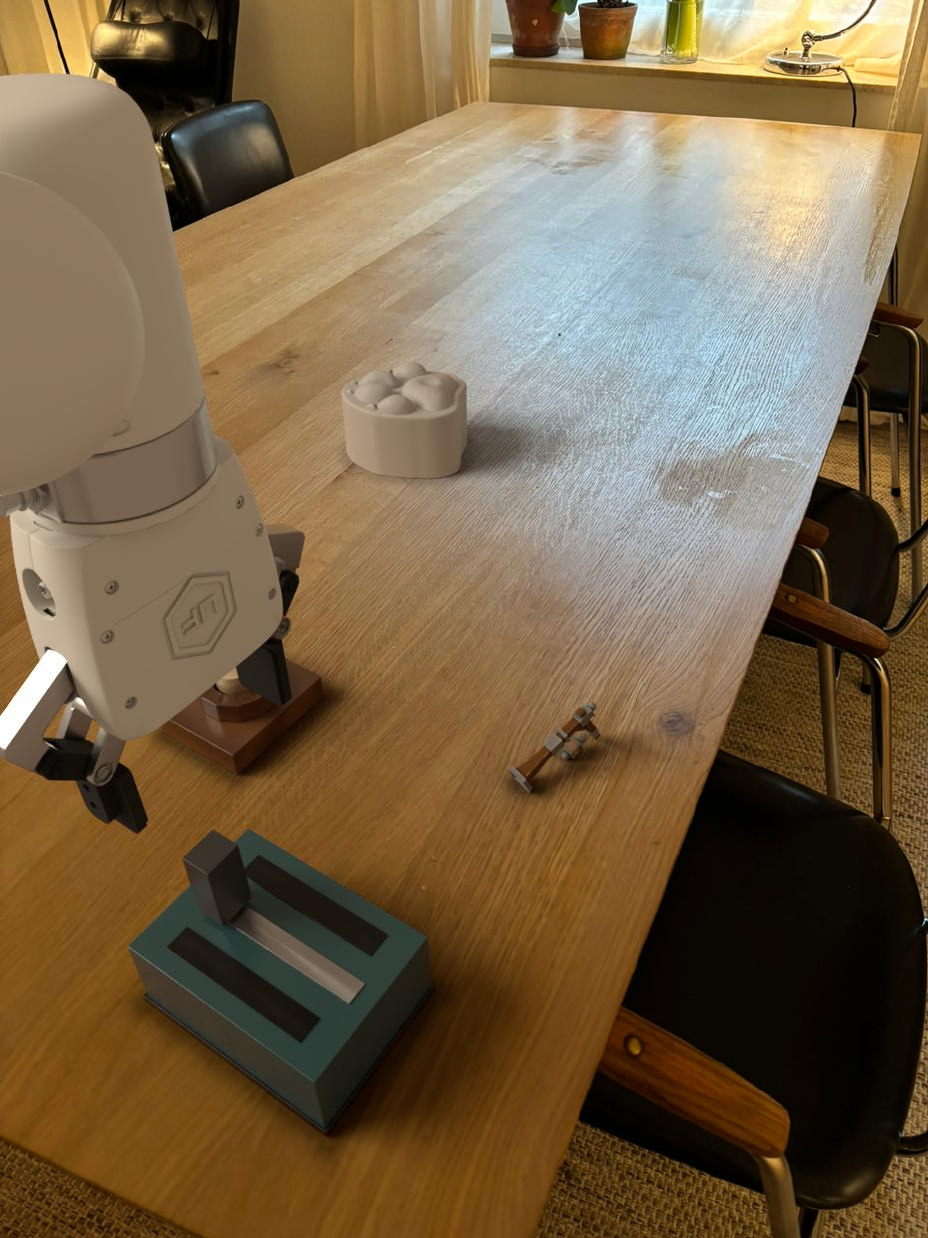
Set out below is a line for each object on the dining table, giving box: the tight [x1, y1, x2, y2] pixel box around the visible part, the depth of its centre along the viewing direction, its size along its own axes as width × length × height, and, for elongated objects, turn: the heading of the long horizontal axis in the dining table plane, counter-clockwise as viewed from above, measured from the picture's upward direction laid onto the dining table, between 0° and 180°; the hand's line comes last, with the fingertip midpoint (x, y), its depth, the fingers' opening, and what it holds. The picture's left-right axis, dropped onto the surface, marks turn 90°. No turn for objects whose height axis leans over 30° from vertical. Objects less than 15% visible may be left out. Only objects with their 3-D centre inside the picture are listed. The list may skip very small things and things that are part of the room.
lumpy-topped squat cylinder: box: [340, 361, 468, 480], centre depth 106 cm, size 10×13×9 cm
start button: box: [216, 667, 250, 695], centre depth 76 cm, size 3×3×2 cm
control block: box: [160, 658, 325, 776], centre depth 77 cm, size 10×8×4 cm
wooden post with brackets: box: [506, 701, 601, 793], centre depth 74 cm, size 2×8×4 cm, turn 127°
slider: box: [181, 828, 252, 927], centre depth 56 cm, size 2×2×5 cm
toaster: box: [127, 828, 437, 1138], centre depth 59 cm, size 10×14×6 cm
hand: (198, 750), depth 49 cm, fingers open, 9 cm apart
